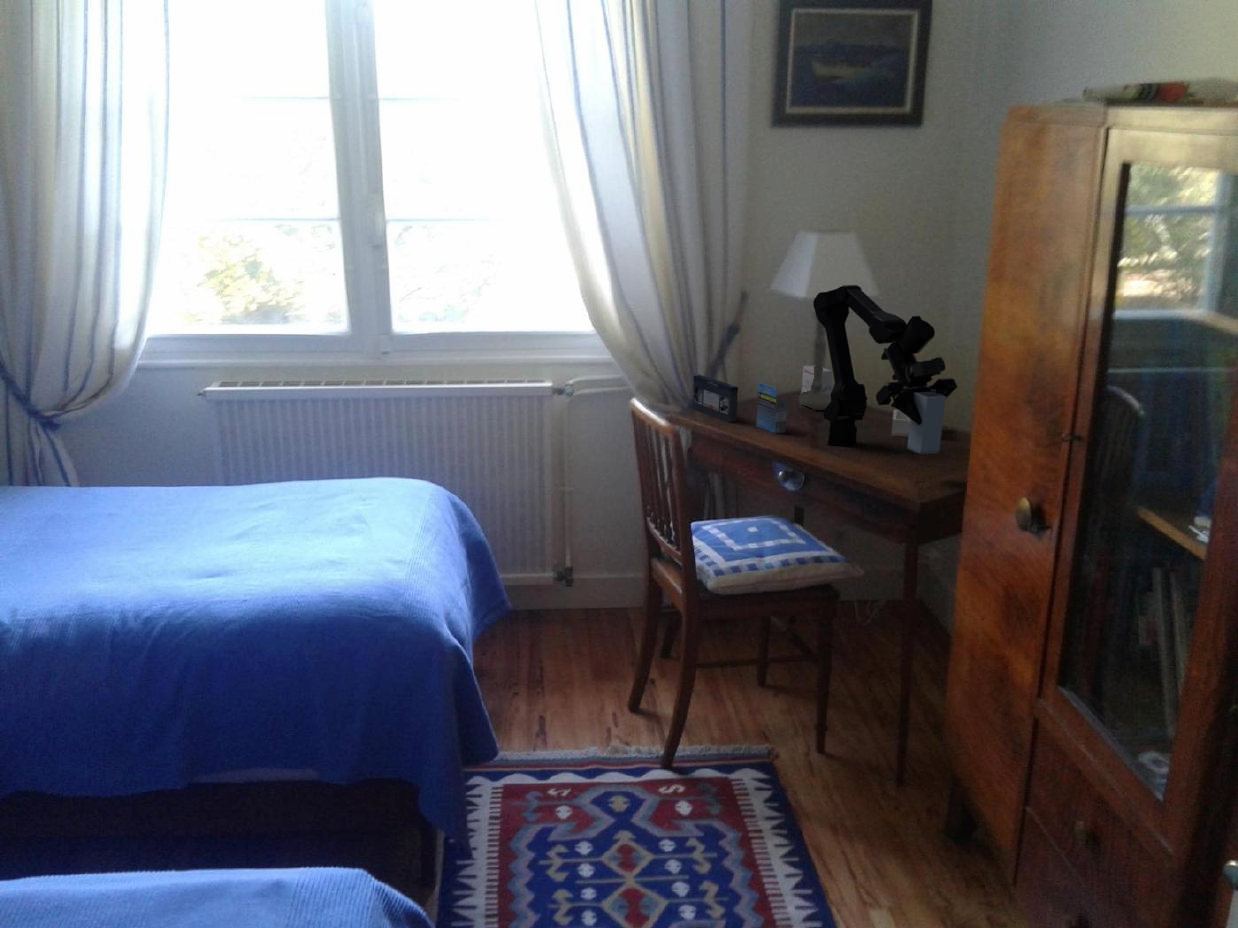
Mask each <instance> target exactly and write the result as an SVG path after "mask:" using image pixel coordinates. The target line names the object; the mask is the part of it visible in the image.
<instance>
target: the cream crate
mask: <svg viewBox="0 0 1238 928" xmlns="http://www.w3.org/2000/svg"><path fill="white" fill-rule="evenodd" d="M910 420H911V419H910V418H909V417H908V416H906V415H905V414H904V413H902V412H901V411H899V410H898V409H893V414H892V425H891V435H890V436H894V437H901V438H902V437H903V438H908V437H909V428H910Z"/></svg>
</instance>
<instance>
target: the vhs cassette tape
mask: <svg viewBox="0 0 1238 928" xmlns="http://www.w3.org/2000/svg"><path fill="white" fill-rule="evenodd" d="M692 385H693V386H692V387H693V390H692V391H693V395H692V410H695V411H697V412H699V413H701V414H705V415H707V416H710V417H712V418H715V419H718V420H720V421H723V422H725V423H728V424H731V423H737V418H738V417H737V415H738V414H737V413H738V398H739V396H738V394H739V387H738V386H736V385H733V384H730V383H728V382H724V381H721V380H718V379H715V378H711V377H707V376H704V375H702V374H696V375H693V384H692Z"/></svg>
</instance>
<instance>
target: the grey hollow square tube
mask: <svg viewBox="0 0 1238 928" xmlns="http://www.w3.org/2000/svg"><path fill="white" fill-rule="evenodd" d="M946 399H947V398H946V396H943V395H940V394H937V393H934V392H917V393H914V402H915V405H916V407H917V410H918V412H919V414H920V417H921V421H922V424H921V425H918V424H916V423H915V422H914V421H913V420H910V428H909V437H907V447H906V449H908V450H910V451H912V452H914V453H917V454H919V455H928V454H939V453H940V449H941V440H942V433H943V432H942V431H943V426H944V425H943V423H944V416H945V415H944V414H945V408H946Z"/></svg>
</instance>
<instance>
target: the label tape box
mask: <svg viewBox="0 0 1238 928" xmlns="http://www.w3.org/2000/svg"><path fill="white" fill-rule="evenodd" d="M766 390H767V391H766ZM777 394H778V388H777V387H774V386H771V385H769V384H766V383H763V382H761V381H759V382H758V388H757V406H756V427H757V428H760V429H763V430H765V431H768V432H770V433H773V434H775V435H776V434H783V433H786V432H787V419H788V418H787V416H788V413H787V412H788V408H787V407H788V401H786V400H783V399H781V398H778V397H777V396H778V395H777Z"/></svg>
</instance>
